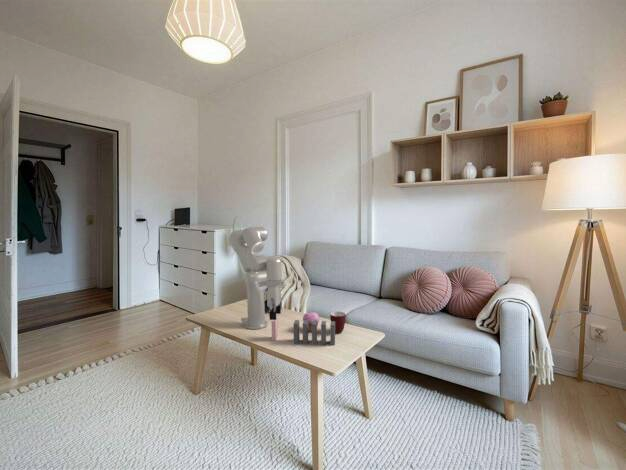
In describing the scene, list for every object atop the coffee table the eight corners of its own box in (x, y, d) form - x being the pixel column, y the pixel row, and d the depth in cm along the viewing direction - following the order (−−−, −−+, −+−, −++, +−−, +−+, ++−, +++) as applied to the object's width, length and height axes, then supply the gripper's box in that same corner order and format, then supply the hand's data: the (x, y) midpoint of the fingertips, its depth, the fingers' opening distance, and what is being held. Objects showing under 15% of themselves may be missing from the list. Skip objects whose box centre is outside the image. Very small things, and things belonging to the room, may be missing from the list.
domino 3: (311, 344, 149) (311, 324, 148) (313, 340, 154) (313, 320, 153) (316, 344, 148) (315, 324, 148) (317, 340, 153) (317, 320, 153)
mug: (336, 326, 171) (336, 309, 170) (350, 329, 167) (350, 311, 166) (327, 333, 162) (327, 314, 161) (341, 336, 158) (341, 317, 157)
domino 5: (330, 345, 148) (330, 324, 147) (331, 340, 152) (331, 321, 152) (334, 345, 147) (334, 325, 147) (335, 341, 152) (335, 321, 151)
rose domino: (271, 340, 153) (271, 321, 152) (274, 336, 158) (273, 317, 157) (275, 341, 153) (275, 321, 152) (278, 336, 158) (277, 318, 157)
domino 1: (293, 343, 150) (293, 323, 149) (295, 339, 155) (295, 320, 154) (297, 343, 149) (297, 323, 149) (299, 339, 154) (299, 320, 154)
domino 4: (321, 344, 148) (321, 324, 147) (322, 340, 153) (321, 320, 152) (325, 344, 148) (325, 324, 147) (326, 340, 153) (325, 321, 152)
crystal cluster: (260, 309, 206) (258, 295, 204) (280, 306, 209) (279, 292, 207) (262, 317, 193) (260, 302, 191) (283, 313, 196) (282, 299, 194)
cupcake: (300, 329, 167) (299, 311, 166) (312, 326, 172) (312, 308, 172) (309, 334, 160) (309, 316, 159) (322, 330, 165) (322, 312, 165)
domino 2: (302, 343, 149) (302, 323, 148) (304, 339, 154) (304, 320, 153) (306, 344, 149) (306, 324, 148) (308, 339, 154) (308, 320, 153)
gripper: (271, 279, 162) (272, 311, 163) (262, 286, 145) (263, 322, 146) (285, 279, 161) (286, 311, 162) (277, 286, 144) (278, 322, 145)
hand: (275, 316), depth 154 cm, fingers open, 9 cm apart
